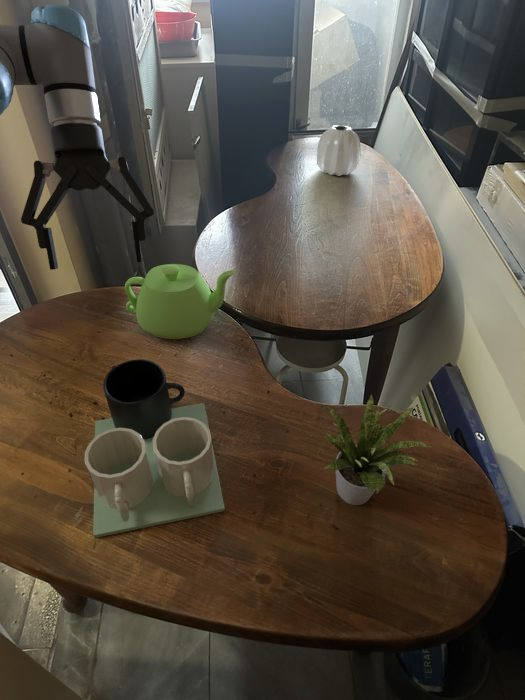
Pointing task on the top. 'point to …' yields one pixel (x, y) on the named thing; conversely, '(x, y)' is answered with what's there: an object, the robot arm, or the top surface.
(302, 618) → the top surface
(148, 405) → the mug
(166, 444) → the cream mug right
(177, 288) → the teapot
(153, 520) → the mug mat
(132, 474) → the cream mug left
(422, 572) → the top surface
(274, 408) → the top surface
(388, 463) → the house plant
